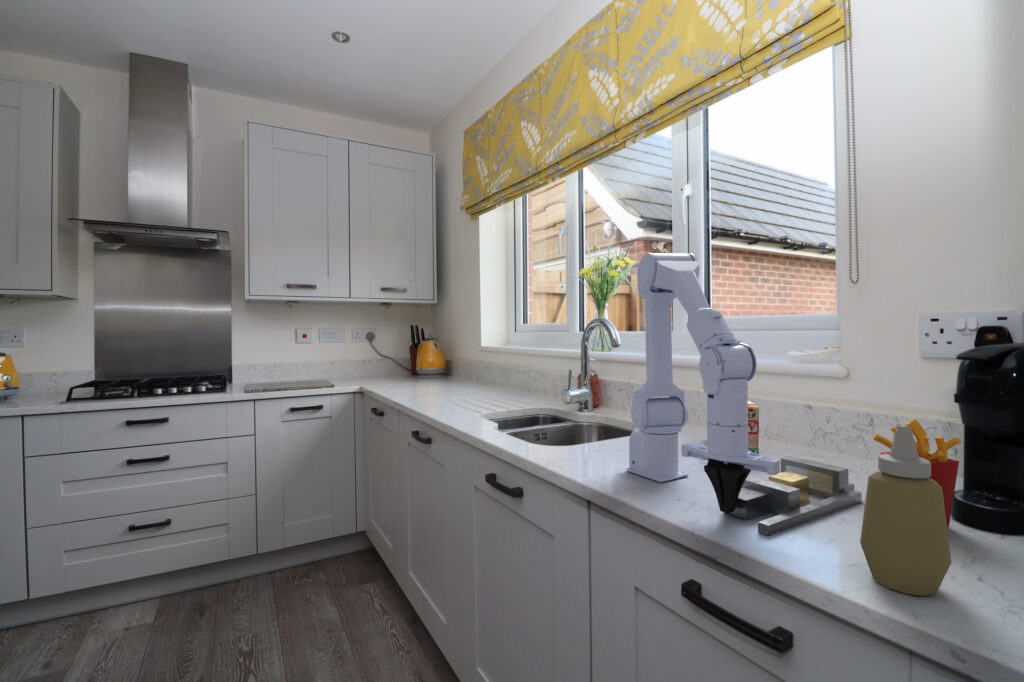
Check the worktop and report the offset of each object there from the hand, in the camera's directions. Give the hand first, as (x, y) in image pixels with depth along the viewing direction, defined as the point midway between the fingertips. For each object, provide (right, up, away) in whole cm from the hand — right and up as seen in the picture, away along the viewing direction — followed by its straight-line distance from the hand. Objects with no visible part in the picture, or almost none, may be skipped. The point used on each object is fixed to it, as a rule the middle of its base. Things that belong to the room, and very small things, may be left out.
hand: (727, 510), depth 74 cm
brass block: (+14, -1, +8) cm, 16 cm away
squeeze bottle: (+11, -2, -19) cm, 23 cm away
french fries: (+26, -1, -2) cm, 27 cm away
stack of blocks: (+20, 0, +43) cm, 47 cm away
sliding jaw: (+5, -1, +3) cm, 6 cm away
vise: (+12, -1, +6) cm, 13 cm away
